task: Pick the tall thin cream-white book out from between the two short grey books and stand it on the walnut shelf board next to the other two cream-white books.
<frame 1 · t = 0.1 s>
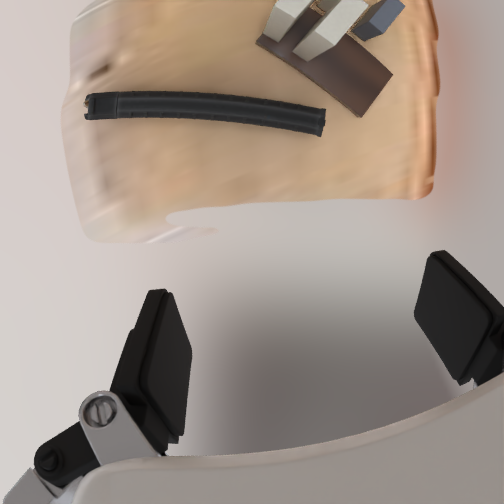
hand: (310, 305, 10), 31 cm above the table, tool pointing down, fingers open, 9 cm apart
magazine: (206, 106, 33), on the table
white book one: (285, 20, 27), point 1 cm above the table, touching shelf board
grey book 1: (368, 22, 27), on the table
white book two: (313, 39, 28), point 1 cm above the table, touching shelf board
shelf board: (327, 56, 30), on the table
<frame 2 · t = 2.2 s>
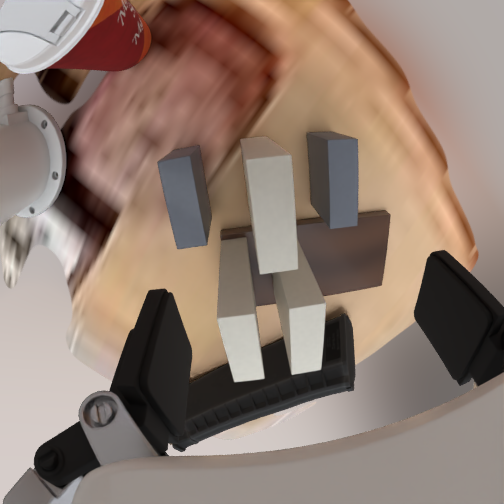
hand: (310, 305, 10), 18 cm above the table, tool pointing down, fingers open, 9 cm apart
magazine: (244, 362, 37), on the table
white book one: (238, 269, 29), point 1 cm above the table, touching shelf board
white book: (257, 174, 25), on the table
grey book 1: (321, 168, 25), on the table
paper cup: (123, 44, 18), on the table
white book two: (283, 263, 29), point 1 cm above the table, touching shelf board
grey book 2: (192, 184, 25), on the table
shelf board: (309, 258, 30), on the table
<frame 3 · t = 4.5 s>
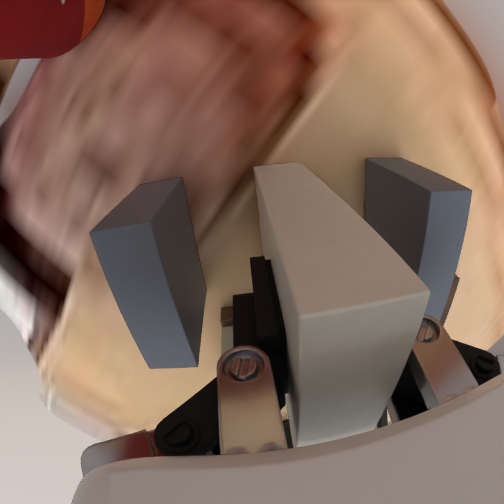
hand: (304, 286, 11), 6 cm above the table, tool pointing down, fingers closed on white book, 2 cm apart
white book one: (248, 360, 19), point 1 cm above the table, touching shelf board
white book: (282, 227, 15), on the table, touching gripper
grey book 1: (381, 216, 15), on the table
paper cup: (65, 15, 8), on the table
grey book 2: (174, 241, 15), on the table
shelf board: (347, 336, 20), on the table
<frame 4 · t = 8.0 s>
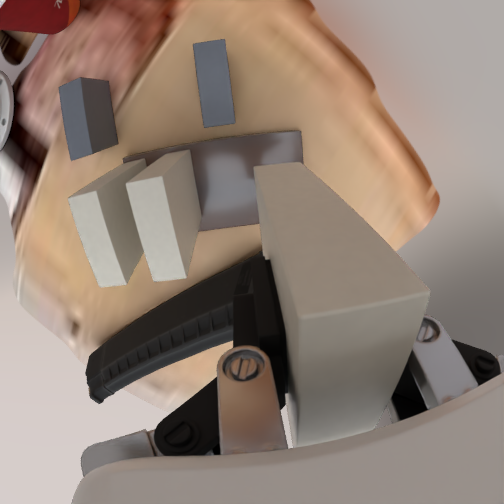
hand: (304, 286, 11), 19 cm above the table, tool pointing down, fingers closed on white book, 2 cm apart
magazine: (168, 311, 35), on the table
white book one: (141, 193, 27), point 1 cm above the table, touching shelf board
white book: (282, 227, 15), point 14 cm above the table, touching gripper
grey book 1: (218, 88, 23), on the table
paper cup: (60, 13, 16), on the table
white book two: (183, 186, 27), point 1 cm above the table, touching shelf board
grey book 2: (102, 115, 23), on the table
shelf board: (215, 183, 28), on the table
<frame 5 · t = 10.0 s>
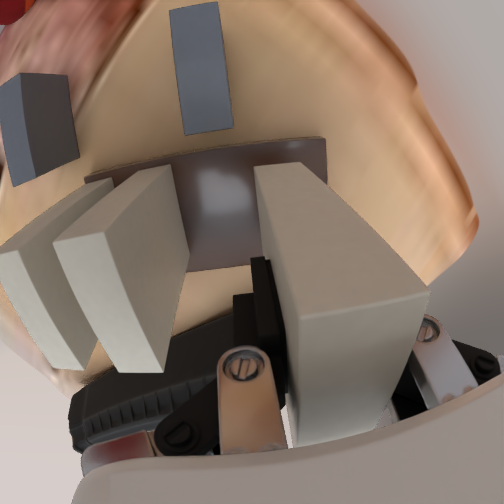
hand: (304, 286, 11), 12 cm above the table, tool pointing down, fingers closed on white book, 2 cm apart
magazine: (155, 356, 28), on the table
white book one: (110, 224, 20), point 1 cm above the table, touching shelf board
white book: (282, 227, 15), point 6 cm above the table, touching gripper
grey book 1: (209, 77, 16), on the table
white book two: (164, 214, 20), point 1 cm above the table, touching shelf board
grey book 2: (60, 120, 16), on the table
shelf board: (207, 208, 21), on the table
when the fingers open (7 cm above the table, at t = 11.6 s): white book stays where it is, resting on shelf board.
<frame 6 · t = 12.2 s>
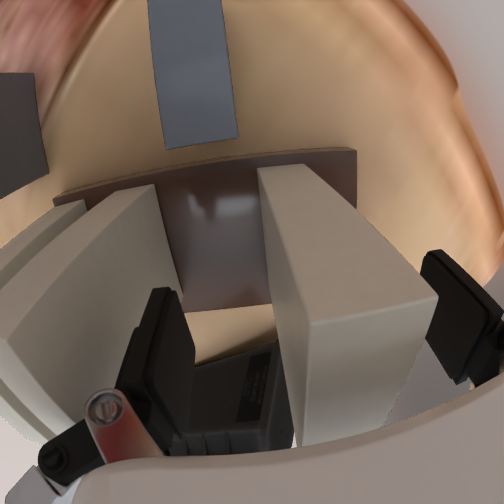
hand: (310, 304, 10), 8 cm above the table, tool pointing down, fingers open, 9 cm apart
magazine: (150, 391, 24), on the table
white book one: (86, 255, 15), point 1 cm above the table, touching shelf board
white book: (285, 228, 15), point 1 cm above the table, touching shelf board
grey book 1: (206, 68, 12), on the table
white book two: (149, 246, 15), point 1 cm above the table, touching gripper, shelf board
grey book 2: (26, 128, 12), on the table
shelf board: (204, 237, 17), on the table
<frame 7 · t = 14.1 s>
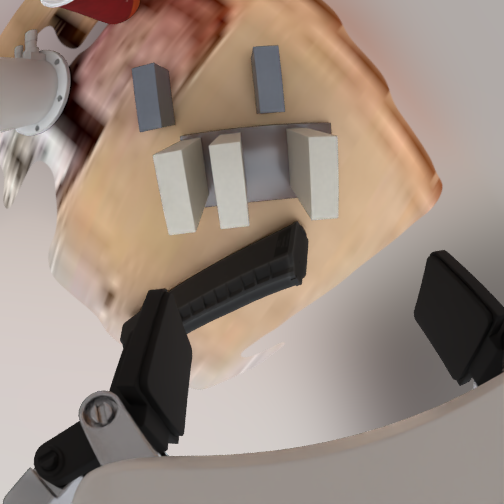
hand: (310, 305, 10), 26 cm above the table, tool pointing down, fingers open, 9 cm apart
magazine: (205, 278, 40), on the table
white book one: (194, 168, 32), point 1 cm above the table, touching shelf board
white book: (298, 157, 32), point 1 cm above the table, touching shelf board
grey book 1: (264, 84, 28), on the table
paper cup: (120, 6, 22), on the table
white book two: (233, 163, 32), point 1 cm above the table, touching shelf board
grey book 2: (161, 99, 29), on the table
shelf board: (259, 162, 33), on the table
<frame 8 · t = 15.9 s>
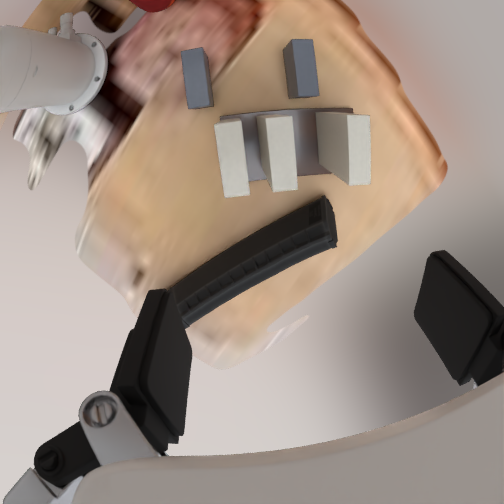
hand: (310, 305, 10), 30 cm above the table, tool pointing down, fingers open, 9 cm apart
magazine: (237, 252, 43), on the table
white book one: (233, 145, 34), point 1 cm above the table, touching shelf board
white book: (326, 137, 34), point 1 cm above the table, touching shelf board
grey book 1: (294, 73, 31), on the table
white book two: (268, 141, 34), point 1 cm above the table, touching shelf board
grey book 2: (201, 82, 31), on the table
shelf board: (290, 142, 35), on the table
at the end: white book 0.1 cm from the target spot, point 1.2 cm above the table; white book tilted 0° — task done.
